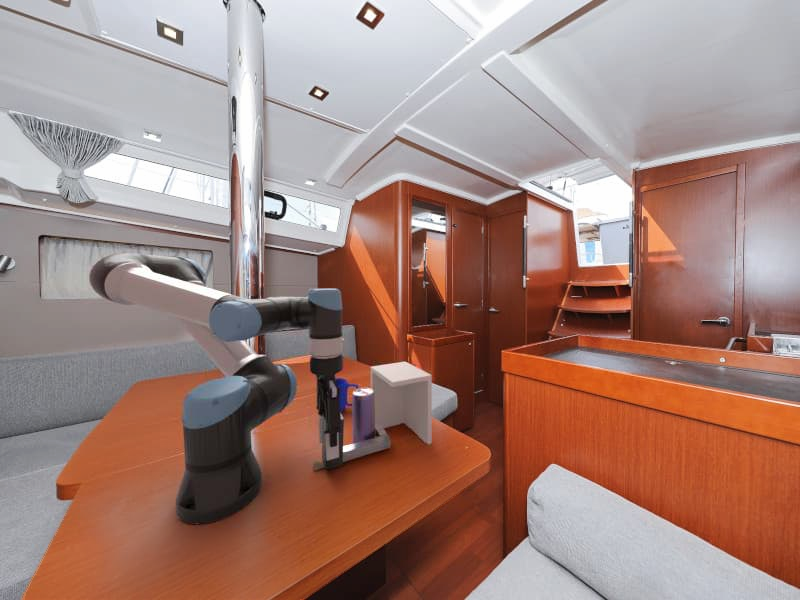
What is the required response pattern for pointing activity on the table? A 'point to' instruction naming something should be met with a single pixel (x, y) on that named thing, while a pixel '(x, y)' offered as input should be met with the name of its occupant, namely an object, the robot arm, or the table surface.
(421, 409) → the corner shelf
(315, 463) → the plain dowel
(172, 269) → the robot arm
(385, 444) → the grey angled piece
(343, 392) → the mug
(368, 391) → the beverage can
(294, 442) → the table surface
